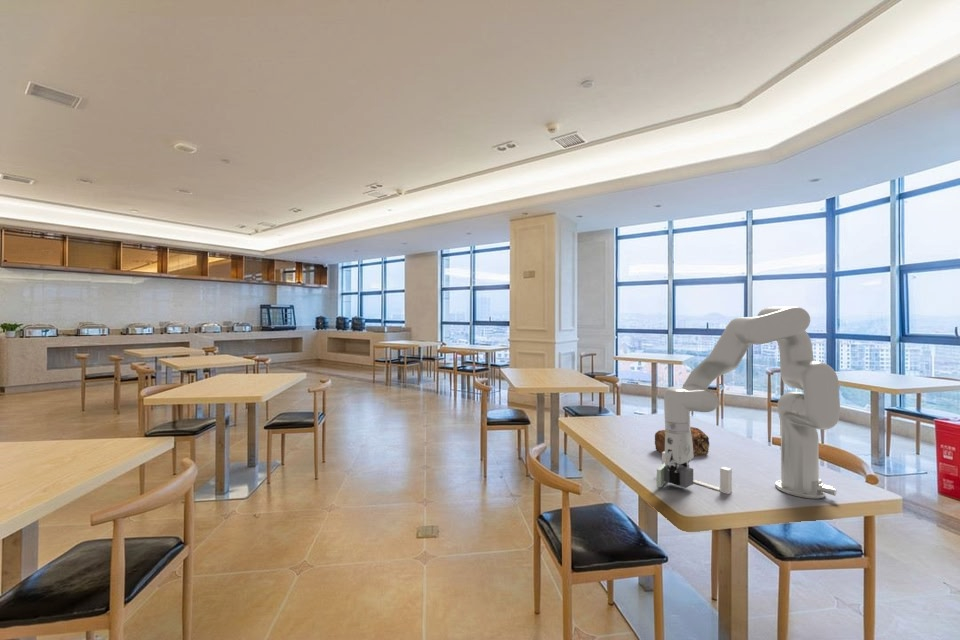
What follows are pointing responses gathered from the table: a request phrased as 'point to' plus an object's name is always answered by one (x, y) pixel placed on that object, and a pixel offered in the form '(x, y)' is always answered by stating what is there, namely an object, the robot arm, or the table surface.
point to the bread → (698, 440)
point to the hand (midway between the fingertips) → (679, 481)
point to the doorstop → (681, 475)
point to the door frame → (724, 479)
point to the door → (661, 475)
